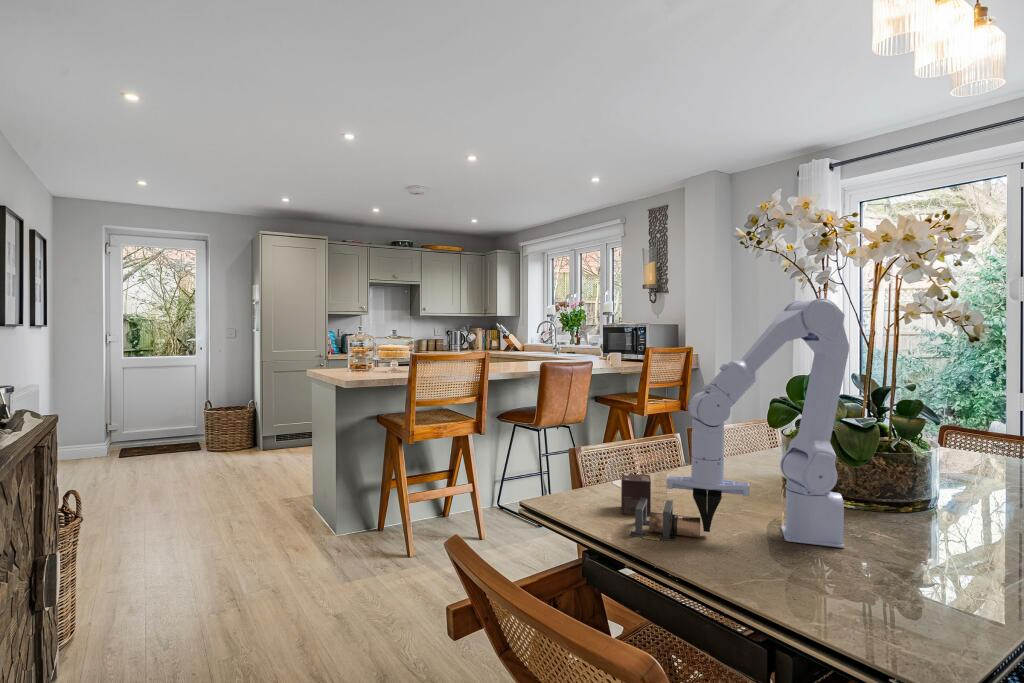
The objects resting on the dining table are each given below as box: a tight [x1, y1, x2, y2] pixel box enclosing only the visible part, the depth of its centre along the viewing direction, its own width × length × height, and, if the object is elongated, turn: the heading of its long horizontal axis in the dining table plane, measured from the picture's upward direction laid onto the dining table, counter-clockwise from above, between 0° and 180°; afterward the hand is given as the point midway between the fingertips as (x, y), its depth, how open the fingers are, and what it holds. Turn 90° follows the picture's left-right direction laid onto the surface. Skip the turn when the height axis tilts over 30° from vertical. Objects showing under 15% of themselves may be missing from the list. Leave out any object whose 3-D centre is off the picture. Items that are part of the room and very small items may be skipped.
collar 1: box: [629, 498, 650, 538], centre depth 113 cm, size 3×9×5 cm, turn 161°
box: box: [620, 473, 652, 517], centre depth 124 cm, size 6×6×7 cm
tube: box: [649, 511, 701, 538], centre depth 110 cm, size 9×4×4 cm, turn 71°
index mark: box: [642, 535, 661, 542], centre depth 107 cm, size 3×1×1 cm, turn 71°
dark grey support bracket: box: [656, 499, 676, 542], centre depth 111 cm, size 3×9×5 cm, turn 160°
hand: (706, 530), depth 109 cm, fingers closed
